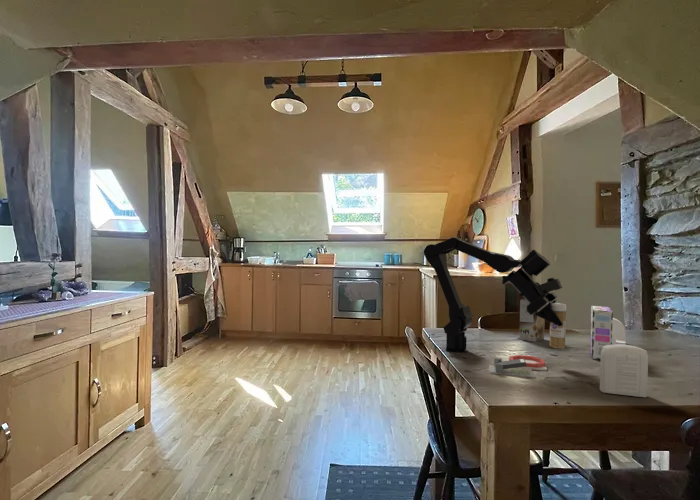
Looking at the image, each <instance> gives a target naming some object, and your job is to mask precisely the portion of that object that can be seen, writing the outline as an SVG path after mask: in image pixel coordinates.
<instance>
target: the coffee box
mask: <svg viewBox="0 0 700 500" xmlns="http://www.w3.org/2000/svg"><path fill="white" fill-rule="evenodd" d="M529 304H530V303H529V302H528V301H527V300H526V299H525V298H523V299H522V298H521V299H520V303H519V338H518V339H519V340H521V341H527V342H528V341H529V342H538V341H541V340H545V319H543V318H541V317H539V316H536V315H535V314H536V313H537V312H538V311H536V312H535V313H534V314H533V315H530V314H529V313H528V312H527V306H528V305H529Z"/></svg>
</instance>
